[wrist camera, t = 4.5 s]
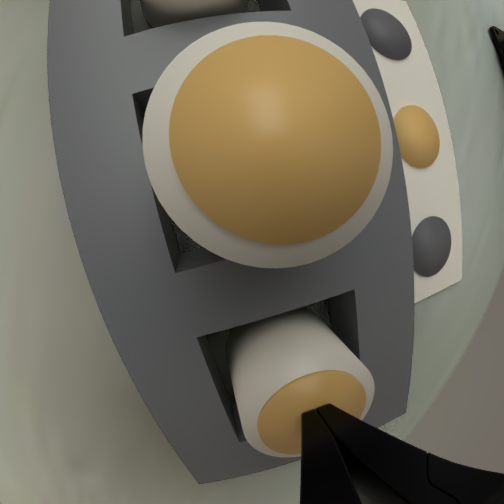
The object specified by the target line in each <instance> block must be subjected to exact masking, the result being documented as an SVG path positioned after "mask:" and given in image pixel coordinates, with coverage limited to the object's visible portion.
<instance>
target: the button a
mask: <svg viewBox="0 0 504 504" xmlns="http://www.w3.org/2000/svg"><path fill="white" fill-rule="evenodd" d="M248 1H249V0H140V3H141V7H142V10H143V14H144V16H145V19H146V20H147V21H148V23H149V24H150V25H151V26H152V27H154V28H157V27H161V26H165V25H169V24H174V23H178V22H183V21H188V20H194V19H199V18H205V17H212V16H219V15H227V14H236V13H244V12H245V9H246V7H247V4H248Z"/></svg>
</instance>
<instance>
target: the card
mask: <svg viewBox="0 0 504 504" xmlns="http://www.w3.org/2000/svg"><path fill="white" fill-rule="evenodd" d="M353 3H354V5H355V7H356V9H357V12H358V14H359V16H360V19H361V21H362V24H363V26H364V29H365V31H366V34H367V36H368V39H369V41H370V44H371V47H372V50H373V53H374V55H375V58H376V61H377V64H378V67H379V70H380V74H381V77H382V80H383V83H384V87H385V90H386V94H387V97H388V101H389V105H390V109H391V113H392V117H393V121H394V125H395V129H396V134H397V138H398V143H399V148H400V153H401V158H402V164H403V170H404V176H405V182H406V189H407V196H408V204H409V212H410V222H411V232H412V245H413V262H414V303H416V302H419V301H421V300H423V299H425V298H427V297H429V296H431V295H433V294H435V293H437V292H439V291H441V290H443V289H445V288H447V287H449V286H451V285H453V284H455V283H456V282H458V281H460V280H462V222H461V206H460V195H459V186H458V177H457V170H456V163H455V157H454V151H453V145H452V140H451V135H450V130H449V125H448V121H447V116H446V112H445V108H444V104H443V100H442V97H441V93H440V89H439V86H438V83H437V79H436V76H435V73H434V70H433V67H432V64H431V61H430V58H429V55H428V53H427V50H426V47H425V45H424V42H423V39H422V37H421V34H420V32H419V30H418V27H417V25H416V23H415V20H414V18H413V16H412V14H411V12H410V9H409V7H408V5H407V3H406V2H405V1H401V0H353Z"/></svg>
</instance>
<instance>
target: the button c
mask: <svg viewBox="0 0 504 504" xmlns="http://www.w3.org/2000/svg"><path fill="white" fill-rule="evenodd" d="M226 357H227V362H228V367H229V372H230V376H231V381H232V385H233V390H234V394H235V399H236V403H237V408H238V412H239V416H240V420H241V425H242V429H243V433H244V436H245V438H246V440H247V441H248V443H249V444H250V445H251V446H252V447H253V448H255V449H256V450H258V451H260V452H261V453H264V454H267V455H270V456H274V457H286V458H289V457H299V456H301V414H302V413H303V412H306V411H309V410H311V409H315V410H316V408H317V407H320V406H322V405H325V404H328V403H330V404H333V405H334V406H336V407H338V408H340V409H342V410H343V411H345V412H347V413H349V414H351V415H353V416H354V417H356V418H358V419H360V420H363V418H364V417H365V415H366V414H367V412H368V410H369V408H370V406H371V404H372V401H373V397H374V391H375V386H374V380H373V377H372V375H371V373H370V371H369V370H368V369H367V368H366V366H365V365H364V364H363V363H362V362H361V361H360V360H359V359H358V358H357V357H356V356H355V355H354V354H353V353H352V352H351V351H350V350H349V348H348V347H347V346H346V345H345V344H344V343H343V342H342V341H341V340H340V339H339V338H338V337H337V336H336V335H335V334H334V333H333V331H332V330H331V329H330V328H329V327H328V326H327V325H326V324H325V323H324V322H323V321H322V320H321V319H320V318H319V317H318V316H317V315H316V313H314V312H313V311H312V310H311V309H310V308H308V307H306V306H304V307H300V308H297V309H294V310H291V311H288V312H285V313H281V314H278V315H275V316H271V317H268V318H265V319H261V320H258V321H255V322H251V323H248V324H244V325H241V326H237V327H234V328H233V329H232V331H231V333H230V335H229V338H228V341H227V345H226Z"/></svg>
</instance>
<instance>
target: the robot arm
mask: <svg viewBox="0 0 504 504" xmlns="http://www.w3.org/2000/svg"><path fill="white" fill-rule="evenodd" d="M489 30H490V32H491V35H492V37H493V40H494V42H495V45H496V47H497V50H498V52H499V55H500V58H501V61H502V64H503V66H504V31H502V30H500V29H498V28H497V27H495V26H492V27H490V28H489ZM300 504H504V474H502V473H497V472H491V471H486V470H481V469H477V468H472V467H468V466H464V465H460V464H457V463H454V462H451V461H448V460H446V459H443V458H440V457H438V456H435V455H433V454H431V453H427V452H426V451H424V450H422V449H419V448H417V447H415V446H413V445H411V444H408V443H406V442H404V441H402V440H400V439H398V438H396V437H394V436H392V435H390V434H388V433H386V432H383V431H381V430H379V429H378V428H376V427H374V426H372V425H370V424H368V423H366V422H364V421H362V420H360V419H358V418H356V417H354V416H353V415H351V414H349V413H347V412H345V411H343V410H342V409H340V408H338V407H336V406H334V405H333V404H330V403H328V404H325V405H322V406H320V407H317V408H316V410H315V409H311V410H309V411H306V412H303V413H302V414H301V486H300Z"/></svg>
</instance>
